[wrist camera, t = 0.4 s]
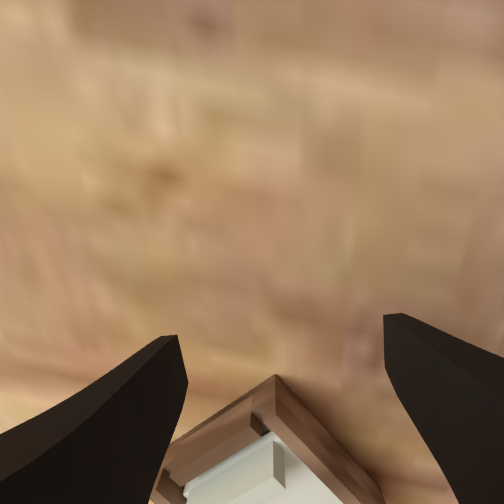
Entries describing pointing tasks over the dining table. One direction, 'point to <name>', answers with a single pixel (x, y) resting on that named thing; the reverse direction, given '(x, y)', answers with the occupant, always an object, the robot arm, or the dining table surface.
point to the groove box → (253, 428)
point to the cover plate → (260, 478)
